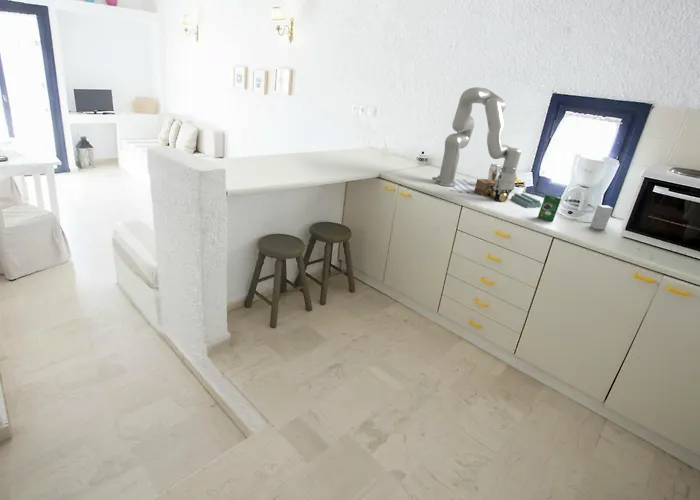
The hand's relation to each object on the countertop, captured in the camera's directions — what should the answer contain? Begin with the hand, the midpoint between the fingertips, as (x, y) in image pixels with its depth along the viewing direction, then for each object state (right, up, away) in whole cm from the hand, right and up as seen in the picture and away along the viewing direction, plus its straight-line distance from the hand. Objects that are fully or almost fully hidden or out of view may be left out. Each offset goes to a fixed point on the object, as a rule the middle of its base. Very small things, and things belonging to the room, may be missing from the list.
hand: (500, 199), depth 243 cm
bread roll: (-2, +2, +5) cm, 5 cm away
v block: (+15, -2, 0) cm, 15 cm away
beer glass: (+3, +11, +26) cm, 28 cm away
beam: (-1, +5, +12) cm, 13 cm away
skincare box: (+41, -18, -26) cm, 52 cm away
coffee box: (+16, -14, -23) cm, 31 cm away
